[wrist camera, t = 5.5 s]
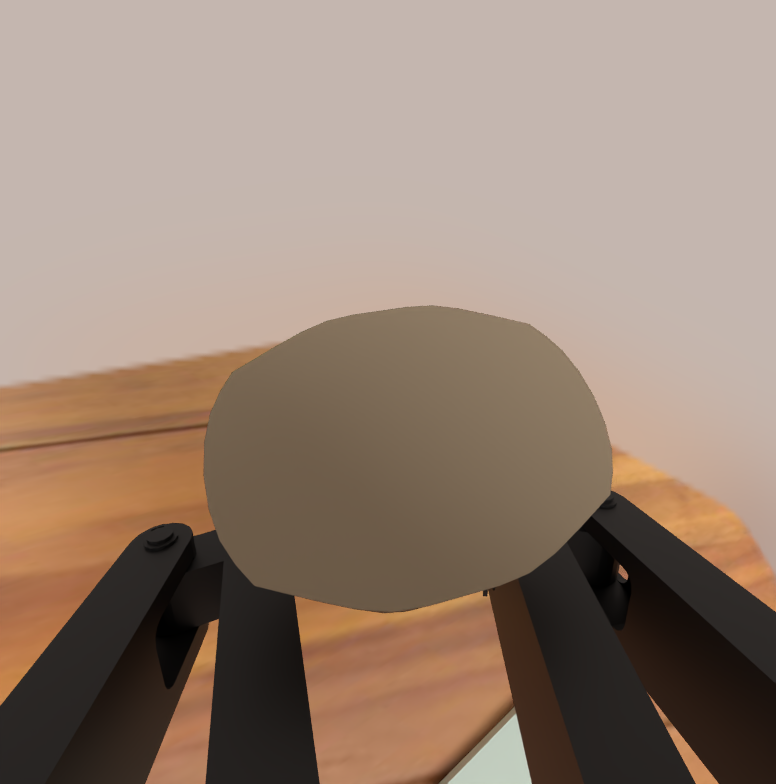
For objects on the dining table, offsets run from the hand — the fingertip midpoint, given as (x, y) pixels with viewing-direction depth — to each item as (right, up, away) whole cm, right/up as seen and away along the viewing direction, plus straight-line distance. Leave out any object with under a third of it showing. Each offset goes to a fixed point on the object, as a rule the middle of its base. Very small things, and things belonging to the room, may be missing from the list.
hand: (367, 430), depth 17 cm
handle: (0, -6, +3) cm, 7 cm away
